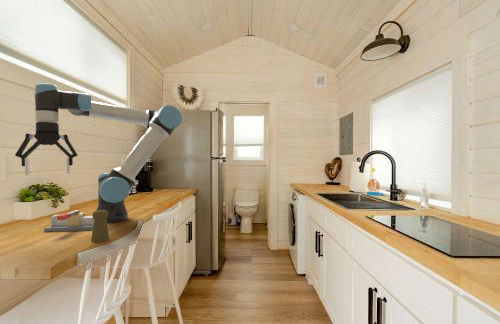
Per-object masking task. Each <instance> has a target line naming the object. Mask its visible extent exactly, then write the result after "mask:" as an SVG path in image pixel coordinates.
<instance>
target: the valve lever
mask: <svg viewBox="0 0 500 324" xmlns="http://www.w3.org/2000/svg"><path fill="white" fill-rule="evenodd" d="M79 213H81V210H80V209H77V210H72V211H70V212H67V213H61V214H57V215H58V216H57V220H65V219H68V218H70V217H71V216H73V215H75V214H79Z"/></svg>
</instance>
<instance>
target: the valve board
mask: <svg viewBox="0 0 500 324" xmlns="http://www.w3.org/2000/svg"><path fill="white" fill-rule="evenodd" d="M58 215H59V214H54V215H52V216H51V217H50V225H48V226H45V227H44V228H43V232H44V233H47V232H48V231H56V232H79V231H80V232H81V231H82V232H84V231H93V225H94V219H93V215H92V216H91V215H89V216H88V215H87V216H86V212H80V213H79V214H75V215H73V216H71V217H70V218H68V219H65V220H57V216H58ZM48 233H49V232H48Z"/></svg>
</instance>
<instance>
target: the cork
mask: <svg viewBox="0 0 500 324" xmlns="http://www.w3.org/2000/svg"><path fill="white" fill-rule="evenodd" d="M96 210H97V209H96ZM96 210H95V211H93V213H92V216H93V219H94V225H93V230H91V232H92V233H91V238H90V239H91V240H90V241H91V242H93V243H101V242H107V241H109V240H110V234H109V226H108V222H107V217H108V211H106V210H97V211H96Z"/></svg>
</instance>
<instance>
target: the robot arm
mask: <svg viewBox="0 0 500 324" xmlns="http://www.w3.org/2000/svg"><path fill="white" fill-rule="evenodd" d="M34 90H35V91H34V93H35V94H34V105H35V106H34V107H35V108H34V109H35V121H36V122H35V134H31V133H25V136H24V137H25V138H24V140H23V141H22V143H21V144H20V146H19V148H18V149H17V151H16V152H15V154H14V155H15V157H17V158H20V159H21V166H22V167H24V174H25V175H26V176H27V175H28V176H29V175H30V158H28V157H29V156H30V155H31V154H32V153H33V152H34V151H35V150H36V149H37V148H38V147H40V146H41V145H42V146H48V145H49V146H54V145H55V146H56V147H58V148H59V149H60V150H61V152H63V153H64V154H65V155H66V156H67V157H66V174H67V175H69V174H70V173H71V168H70V167H71V166H73V164H74V161H73V160H74V158H76V157H78V153H77V151H76V150H75V149H74V146H73V145H72V143H71V142H70V139H69V135H68V134H66V133H64V134H62V135H61V134H60V124H59V121H60V120H59V110H67V111H68V112H69V113H70V114H71V115H73V116H77V117H81V116H83V117H91V118H97V119H102V120H110V121H115V122H121V123H126V124H133V125H137V126H138V125H139V126H143V127H144V128H146V129H147V130H146V131H145V133H144V134H143V135H142V136H141V138H140V139H139V140H138V142H137V143H136V144H135V145H134V146H133V148H132V149H131V151H130V152H129V153H128V154H127V156H126V157H125V159H123V161H122V162H121V164H119V166H117V167H114V168H113V167H112V169H111V171H110V172H106V173H100V174H99V175H98V177H97V178H98V179H97V183H98V193H97V197H98V199H97V200H98V204H97V207H96V210H95V211H97V210H106V211H108V217H107V223H116V222H123V221H124V220H125V221H126V220H128V218H129V212H128V210H127V207H126V204H125V199H127V197H128V196H129V194H130V191H131V189H132V188H133V186H135V184H136V176H138V174H139V173H140V171H141V170H142V169H143V167H144V166H145V165H146V163H147V162H148V160H149V159H150V158H151V157H152V155H153V154H154V152H155V151H156V150H157V149H158V147H159V146H160V144H161V143H162V141H163V140H164V139H165V138H169V137H170V136H171V135H172V133H173V132H174V131H175V129H177V128H178V127H180V125H181V124H182V121H183V116H182V112H181V111H180V110H179V109H178V108H177V107H176V106H174V105H172V104H171V105H169V104H168V105H167V104H166V105H163V106H161V107H160V108H159V109H157V110H153V109H152V110H150V109H147V110H140V109H135V108H130V107H123V106H119V105H114V104H108V103H103V102H97V101H93V100H92V96H91V94H89V93H85V92H84V93H83V92H74V91H64V90H59V87H58V86H57V85H56V84H52V83H46V82H44V83H43V82H41V83H40V82H39V83H37V84H36V85H35V89H34ZM34 138H35V140H36V141H35V142H34V143H33V144H32V145H31V146H30V147H29V148H28V149H27V150H26V148H27V146H28V145H29V143H30V141H31V140H33V139H34ZM60 139H62V140H63V141H65V144H66V145H67V147H68V149H69V150H70V152H71V153H72V154H71V153H70V152H69V151H68V150H67V149H66V148H65V147H64V146H63V145H62V144H61V143H60V142H59V140H60ZM25 150H26V151H25ZM24 151H25V152H24Z"/></svg>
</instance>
